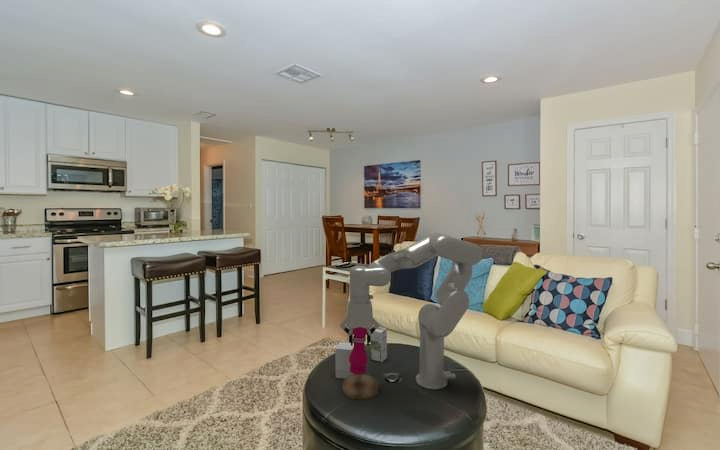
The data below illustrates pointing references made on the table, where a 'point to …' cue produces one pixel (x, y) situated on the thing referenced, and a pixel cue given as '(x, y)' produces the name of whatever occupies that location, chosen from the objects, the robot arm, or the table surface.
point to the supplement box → (343, 360)
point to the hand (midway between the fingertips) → (359, 343)
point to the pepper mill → (358, 351)
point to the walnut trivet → (360, 386)
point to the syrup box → (379, 344)
